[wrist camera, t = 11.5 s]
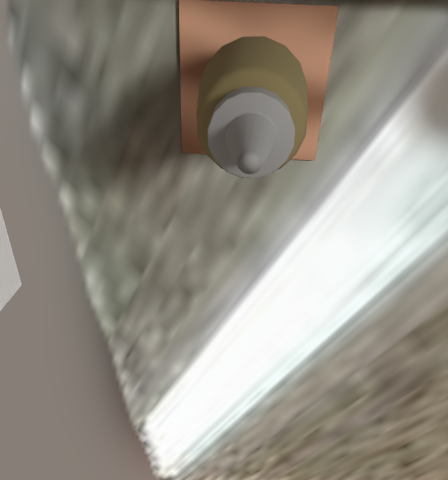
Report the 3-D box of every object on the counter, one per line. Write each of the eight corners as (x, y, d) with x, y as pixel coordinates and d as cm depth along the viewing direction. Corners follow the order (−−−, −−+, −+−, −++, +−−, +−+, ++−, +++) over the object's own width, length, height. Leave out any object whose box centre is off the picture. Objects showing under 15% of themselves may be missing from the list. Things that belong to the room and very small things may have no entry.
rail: (164, -76, 29) (155, -83, 26) (573, -61, 28) (606, -67, 25) (171, 150, 37) (165, 162, 35) (484, 169, 36) (501, 182, 34)
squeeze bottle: (288, 143, 36) (311, 253, 20) (197, 124, 36) (152, 222, 20) (315, 43, 32) (370, 87, 16) (212, 21, 31) (170, 45, 16)
